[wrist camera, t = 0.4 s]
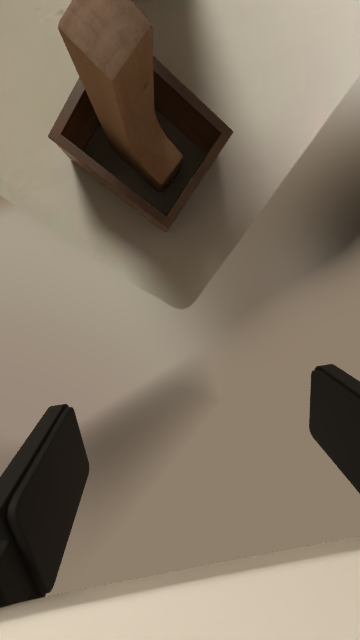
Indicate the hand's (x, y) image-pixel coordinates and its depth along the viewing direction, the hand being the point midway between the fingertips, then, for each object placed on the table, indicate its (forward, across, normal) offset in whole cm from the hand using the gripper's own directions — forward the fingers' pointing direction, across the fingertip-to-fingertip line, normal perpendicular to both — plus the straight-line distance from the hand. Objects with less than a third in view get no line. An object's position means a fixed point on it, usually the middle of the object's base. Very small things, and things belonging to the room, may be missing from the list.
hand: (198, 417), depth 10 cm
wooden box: (+31, +1, -19) cm, 36 cm away
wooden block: (+31, +1, -19) cm, 36 cm away
